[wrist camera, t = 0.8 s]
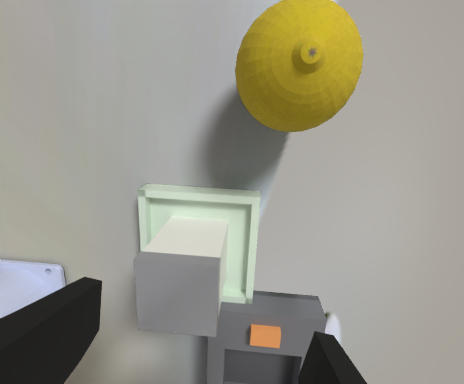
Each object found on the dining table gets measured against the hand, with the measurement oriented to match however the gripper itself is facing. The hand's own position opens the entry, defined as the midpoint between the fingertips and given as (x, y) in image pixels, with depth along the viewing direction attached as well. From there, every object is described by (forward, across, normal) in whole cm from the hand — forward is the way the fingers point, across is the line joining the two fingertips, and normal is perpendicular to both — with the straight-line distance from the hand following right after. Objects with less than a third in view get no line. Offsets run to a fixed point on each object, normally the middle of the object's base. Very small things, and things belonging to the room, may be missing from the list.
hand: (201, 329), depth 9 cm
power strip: (+10, -6, +21) cm, 24 cm away
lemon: (+11, -1, -9) cm, 14 cm away
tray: (+11, +2, +2) cm, 11 cm away
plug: (+10, +2, +2) cm, 10 cm away
